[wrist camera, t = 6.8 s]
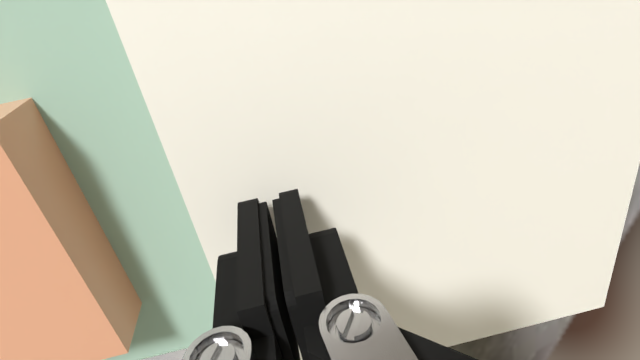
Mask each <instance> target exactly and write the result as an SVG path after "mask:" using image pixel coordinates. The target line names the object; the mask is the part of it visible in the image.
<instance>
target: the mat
mask: <svg viewBox="0 0 640 360" xmlns="http://www.w3.org/2000/svg"><path fill="white" fill-rule="evenodd" d="M31 97H32V99H33V101H34V103H35V105H36V107H37V109H38V110H39V112H40V114H41V116H42V118H43V120H44V122H45V123H46V125H47V127H48V129H49V131H50V133H51V135H52V136H53V138H54V140H55V142H56V144H57V146H58V148H59V149H60V151H61V153H62V155H63V157H64V159H65V161H66V162H67V164H68V166H69V168H70V170H71V172H72V174H73V175H74V177H75V179H76V181H77V183H78V185H79V187H80V188H81V190H82V192H83V194H84V196H85V198H86V200H87V201H88V203H89V205H90V207H91V209H92V211H93V213H94V214H95V216H96V218H97V220H98V222H99V224H100V226H101V228H102V229H103V231H104V233H105V235H106V237H107V239H108V241H109V242H110V244H111V246H112V248H113V250H114V252H115V254H116V255H117V257H118V259H119V261H120V263H121V265H122V267H123V268H124V270H125V272H126V274H127V276H128V278H129V280H130V281H131V283H132V285H133V287H134V289H135V291H136V293H137V294H138V296H139V298H140V300H141V302H142V305H141V309H140V312H139V316H138V320H137V323H136V327H135V330H134V334H133V338H132V341H131V345H130V348H129V352H128V353H126V354H122V355H118V356H115V357H111V358H107V359H103V360H141V359H145V358H149V357H153V356H157V355H161V354H165V353H169V352H173V351H177V350H181V349H185V348H188V347H189V346H190V345H191V343H192V342H193V341H194V340H195V339H196V338H198V337H199V336H200V335H201V334H203V333H205V332H207V331H209V330H211V329H212V328H213V314H214V300H215V287H216V281H215V279H214V276H213V274H212V271H211V268H210V266H209V263H208V261H207V258H206V256H205V253H204V251H203V248H202V245H201V243H200V240H199V238H198V235H197V233H196V230H195V228H194V225H193V222H192V220H191V217H190V215H189V212H188V210H187V207H186V205H185V202H184V200H183V197H182V194H181V192H180V189H179V187H178V184H177V182H176V179H175V177H174V174H173V171H172V169H171V166H170V164H169V161H168V159H167V156H166V154H165V151H164V148H163V146H162V143H161V141H160V138H159V136H158V133H157V131H156V128H155V125H154V123H153V120H152V118H151V115H150V113H149V110H148V108H147V105H146V103H145V100H144V97H143V95H142V92H141V90H140V87H139V85H138V82H137V80H136V77H135V74H134V72H133V69H132V67H131V64H130V62H129V59H128V57H127V54H126V51H125V49H124V46H123V44H122V41H121V39H120V36H119V34H118V31H117V28H116V26H115V23H114V21H113V18H112V16H111V13H110V11H109V8H108V5H107V3H106V0H0V104H3V103H8V102H12V101H17V100H22V99H26V98H31Z"/></svg>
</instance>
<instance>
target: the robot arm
mask: <svg viewBox="0 0 640 360" xmlns="http://www.w3.org/2000/svg"><path fill="white" fill-rule="evenodd" d="M272 203H273V211H274V219H275V227H276V233H275V229H274V226H273V222H272V219H271V215H270V212H269V208H268V205H267V202H261V203H259V200H258V198H256V199H251V200H247V201H243V202H239V203H238V206H237V251H236V252H232V253H227V254H223V255H219V257H218V261H217V273H216V287H215V300H214V314H213V328H212V329H211V330H209V331H207V332H205V333H203V334H201V335H200V336H199V337H198V338H196V339H195V340H194V341H193V342H192V343H191V345H190V346H189V347H188V348H187V349H186V352H185V354H184V356H183V358H182V360H300V353H301V356H302V359H303V360H477V359H475V358H472V357H470V356H468V355H465V354H463V353H460V352H458V351H455V350H453V349H451V348H448V347H446V346H443V345H441V344H438V343H436V342H434V341H431V340H429V339H426V338H424V337H421V336H419V335H417V334H414V333H412V332H409V331H407V330H404V329H402V328H399V327H397V325H396V324H395V322H394V321H393V319H392V317H391V316H390V314H389V313H388V311H387V310H386V308H385V307H384V306H383V304H382V303H381V302H380V301H379V300H377V299H375V298H373V297H372V296H369V295H365V294H359V293H358V290H357V287H356V284H355V282H354V279H353V276H352V273H351V270H350V267H349V264H348V261H347V258H346V255H345V252H344V250H343V247H342V244H341V241H340V238H339V235H338V232H337V230H336V228H331V229H327V230H322V231H318V232H314V233H310V234H308V230H307V226H306V221H305V217H304V213H303V209H302V205H301V201H300V196H299V192H298V189H294V190H290V191H285V192H281V193H279V198H278V199H274V200H272ZM276 235H277V237H276ZM298 346H299V347H298ZM299 349H300V353H299Z"/></svg>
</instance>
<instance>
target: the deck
mask: <svg viewBox="0 0 640 360" xmlns="http://www.w3.org/2000/svg"><path fill="white" fill-rule="evenodd" d="M106 3H107V5H108V8H109V11H110V13H111V16H112V18H113V21H114V23H115V26H116V28H117V31H118V34H119V36H120V39H121V41H122V44H123V46H124V49H125V51H126V54H127V57H128V59H129V62H130V64H131V67H132V69H133V72H134V74H135V77H136V80H137V82H138V85H139V87H140V90H141V92H142V95H143V97H144V100H145V103H146V105H147V108H148V110H149V113H150V115H151V118H152V120H153V123H154V125H155V128H156V131H157V133H158V136H159V138H160V141H161V143H162V146H163V148H164V151H165V154H166V156H167V159H168V161H169V164H170V166H171V169H172V171H173V174H174V177H175V179H176V182H177V184H178V187H179V189H180V192H181V194H182V197H183V200H184V202H185V205H186V207H187V210H188V212H189V215H190V217H191V220H192V222H193V225H194V228H195V230H196V233H197V235H198V238H199V240H200V243H201V245H202V248H203V251H204V253H205V256H206V258H207V261H208V263H209V266H210V268H211V271H212V274H213V276H214V279H215V281H216V273H217V261H218V257H219V255H223V254H227V253H232V252H236V251H237V206H238V203H239V202H243V201H247V200H251V199H256V198H258V200H259V203H261V202H267V205H268V208H269V212H270V215H271V219H272V222H273V226H274V229H275V233H276V227H275V219H274V211H273V203H272V200H274V199H278V198H279V193H281V192H285V191H290V190H294V189H298V192H299V196H300V201H301V205H302V209H303V213H304V217H305V221H306V226H307V230H308V234H310V233H314V232H318V231H322V230H327V229H331V228H336V230H337V232H338V235H339V238H340V241H341V244H342V247H343V250H344V252H345V255H346V258H347V261H348V264H349V267H350V270H351V273H352V276H353V279H354V282H355V284H356V287H357V290H358V293H359V294H365V295H369V296H372V297H373V298H375V299H377V300H379V301H380V302H381V303H382V304H383V306H384V307H385V308H386V310H387V311H388V313H389V314H390V316H391V317H392V319H393V321H394V322H395V324H396V325H397V327H399V328H402V329H404V330H407V331H409V332H412V333H414V334H417V335H419V336H421V337H424V338H426V339H429V340H431V341H434V342H436V343H438V344H441V345H443V346H446V347H450V346H453V345H457V344H461V343H465V342H469V341H473V340H477V339H480V338H484V337H488V336H492V335H496V334H500V333H504V332H507V331H511V330H515V329H519V328H523V327H527V326H531V325H535V324H538V323H542V322H546V321H550V320H554V319H558V318H562V317H565V316H569V315H573V314H577V313H581V312H585V311H589V310H592V309H596V308H600V307H604V304H605V300H606V295H607V291H608V287H609V283H610V279H611V275H612V271H613V267H614V263H615V259H616V255H617V251H618V247H619V243H620V239H621V235H622V231H623V227H624V223H625V219H626V215H627V211H628V207H629V203H630V199H631V195H632V191H633V187H634V183H635V179H636V175H637V171H638V167H639V163H640V0H106ZM276 237H277V235H276ZM298 347H299V346H298ZM299 353H300V349H299ZM300 360H303V359H302V356H301V353H300Z"/></svg>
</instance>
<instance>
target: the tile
mask: <svg viewBox="0 0 640 360" xmlns="http://www.w3.org/2000/svg"><path fill="white" fill-rule="evenodd" d="M141 305H142V302H141V300H140V298H139V296H138V294H137V293H136V291H135V289H134V287H133V285H132V283H131V281H130V280H129V278H128V276H127V274H126V272H125V270H124V268H123V267H122V265H121V263H120V261H119V259H118V257H117V255H116V254H115V252H114V250H113V248H112V246H111V244H110V242H109V241H108V239H107V237H106V235H105V233H104V231H103V229H102V228H101V226H100V224H99V222H98V220H97V218H96V216H95V214H94V213H93V211H92V209H91V207H90V205H89V203H88V201H87V200H86V198H85V196H84V194H83V192H82V190H81V188H80V187H79V185H78V183H77V181H76V179H75V177H74V175H73V174H72V172H71V170H70V168H69V166H68V164H67V162H66V161H65V159H64V157H63V155H62V153H61V151H60V149H59V148H58V146H57V144H56V142H55V140H54V138H53V136H52V135H51V133H50V131H49V129H48V127H47V125H46V123H45V122H44V120H43V118H42V116H41V114H40V112H39V110H38V109H37V107H36V105H35V103H34V101H33V99H32V97H31V98H26V99H22V100H17V101H12V102H8V103H3V104H0V360H103V359H107V358H111V357H115V356H118V355H122V354H126V353H128V352H129V348H130V345H131V341H132V338H133V334H134V330H135V327H136V323H137V320H138V316H139V312H140V309H141Z"/></svg>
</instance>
